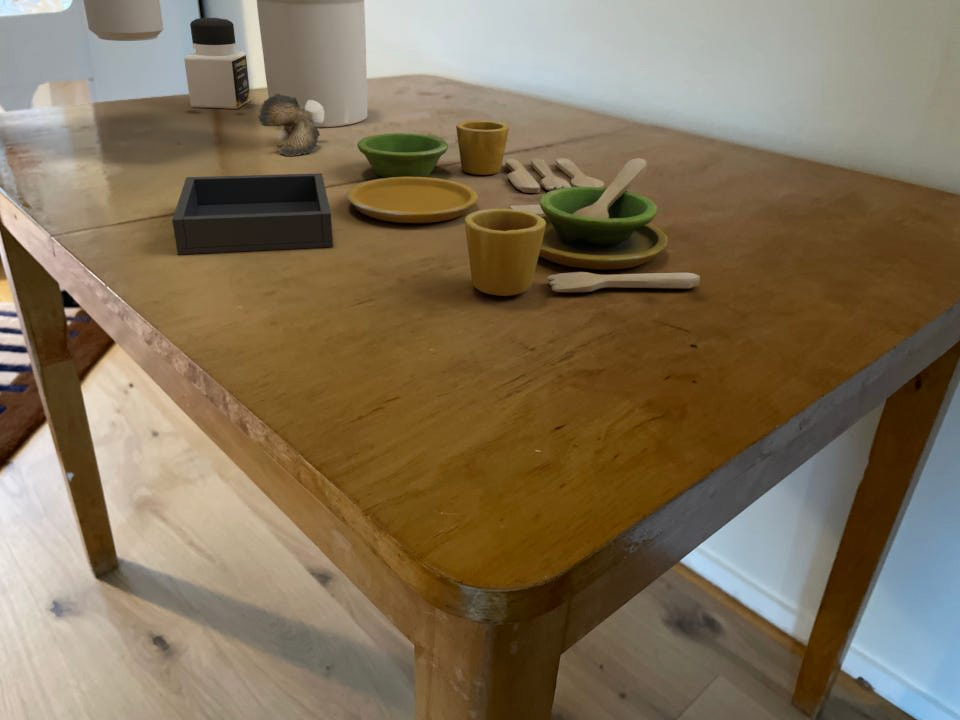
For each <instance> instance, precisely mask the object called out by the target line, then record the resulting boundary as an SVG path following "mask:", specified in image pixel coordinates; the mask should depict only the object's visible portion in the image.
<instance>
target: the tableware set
mask: <svg viewBox="0 0 960 720" xmlns="http://www.w3.org/2000/svg"><path fill="white" fill-rule="evenodd" d="M455 129H456V137H457V143H458V144H457V145H458V151H459V159H460V167H461V170H462V171H464V172H465V173H466V174H467V173H468V174H471V175H477V176H489V175H490V176H491V175H494V174H495V175H496V174H497V173H499V172H500V171H501V170H502V166H503V161H504V157H505V156H504V155H505V150H506V147H507V146H506V145H507V142H508V137H509V131H510V126H509V125H508V124H507V123H504V122H502V121H498V120H497V121H496V120H480V119H479V120H465V121H460V122H458V123H456V126H455ZM356 146H357V149H358V150H359V152H361V154H363V155H364V156H365V158H366V160H367V161H368V163H369V164H370V165H369V166H371V168H372V169H373V171H374V173H375V174H377V176H379V177H381V178H376V179H371V180H367V181H363V182H361V183H357V184H355V185H354V186H353V185H352V187H350V188H349V189H348V190H347V192H346V195H345V197H346V199H347V201H348V202H349V203H350V204H351V206H352V207H355V209H356V210H357V211H358V212H360V213H361V214H363V215H365V216H366V217H367V216H368V217H370V218H373V219H376V220H380V221H384V222H391V223H400V224H426V223H427V224H429V223H438V222H445V221H449V220H452V219H455V218H458V217H461V216H462V215H464V214H466V213H467V212H468V211H469V210H470V209H471V208H472V207H474V205H475V204H476V203H477V201H478V200H479V195H478V193H477V192H476V190H475V189H473V188H471V187H470V186H468V185H465V184H463V183H460V182H457V181H454V180H449V179H444V178H437V177H429V176H430V174H431V173H432V172H433V170H434V169H435V168H436V165H437V164H438V162H439V160H440V159H441V157H442V156H443V155H444V154H446V152H447V151H448V149H449V144H448V142H446V141H445V140H443V139H442V138H438V137H435V136H431V135H425V134H418V133H406V132H405V133H403V132H402V133H400V132H399V133H397V132H395V133H394V132H393V133H382V134H374V135H370V136H366V137H363V138H362V139H360V140H358V142H357V143H356ZM555 163H556V164H557V165H558V166H557V165H556V164H555V167H556V168H557V169H558V170H560V171H561V172H563V174H565V175H566V176H568V177H569V178H570V181H569V182H568V180H566V179H564V178H561V177H558V176H556V175H555V174H554V173H553V171H552V170H551V168H550V167H549V165H548V163H547V162H546V160H544V159H543V158H531V159H530V166H531V167H532V168H533V169H534V170H535V172H536V173H537V174H538V175H539V176H540V177H541V180H540V182H539V183H540V184H539V183H538V182H537V180H536V179H535V178H534V177H533V176H532V175H531V174H530V173H529V172H528V170H527V169H526V168H525V167H524V166H523V165H522V164H521V162H520V161H518V160H517V159H514V158H507V159H506V160H505V167H506V168H507V169H508V170H509V171H510V172H509V173H508V174H507V178H508V180H509V181H510V183H511V184H512V186H514V187H515V188H516V189H517V190H519V191H521V192H522V193H526V194H527V193H528V194H539V193H540V192H541V187H542V189H545V190H546V191H548V192H545V193H544V194H543V195H541V197H540V199H539V204H518V205H517V204H515V205H514V204H513V205H510V206H509V208H485V209H480V210H477V211H473V212H471V213H469V214H467V215H466V216H465V217H464V228H465V237H466V243H467V244H466V245H467V252H468V259H469V260H468V261H469V269H470V276H471V283H472V286H473V287H474V288H475V289H476V290H478V291H480V292H481V293H484V294H488V295H492V296H497V297H511V296H517V295H520V294H523V293H525V292H526V291H529V290H530V288H531V286H532V285H533V281H534V277H535V274H536V270H537V265H538V260H539V257H540V258H543V259H545V260H547V261H550V262H553V263H556V264H559V265H562V266H566V267H573V268H578V269H579V268H580V269H587V270H601V271H602V270H605V271H607V270H609V271H610V270H611V271H612V270H623V269H629V268H634V267H638V266H641V265H643V264H646V263H648V262H650V261H651V260H652V259H653V258H654V257H656V256H658V255H659V254H660V253H661V252H662V251H664V249H665V248H666V247H667V245H668V236H667V235H666V233H664V232H663V231H662V230H661V229H660V228H658V227H657V226H655V225H654V224H652V223H650V222H652V221H653V220H654V218H655V217H656V216H657V214H658V211H659V208H658V206H657V205H656V203H655V202H653V201H652V200H651V199H650V198H647V197H645V196H644V195H640V194H638V193H634V192H631V191H628V190H629V189H630V187H631V186H632V185H633V184H634V183H635V182H637V181H638V180H639V179H640V178H641V176H643V175H644V173H645V172H646V170H647V166H648V165H647V160H645V159H644V158H640V157H636V158H631V159H630V160H628V161H627V162H626V163H625V164H624V166H623V167H622V168H621V169H620V170H619V172H618V174H616V176H615V177H614V179H613V180H612V181H611V182H610V184H609V185H608V187H604V186H605V183H604V181H603V180H601V179H600V178H595V177H591V176H589V175H588V176H587V175H585V173H583V172H582V171H581V170H580V168H579V167H578V166H577V165H576V164H575V163H574V162H573V161H572V160H571V159H570V158H563V157H562V158H561V157H560V158H556V159H555ZM531 164H532V165H531ZM561 168H562V169H561ZM565 171H566V172H567V173H566V172H565ZM546 280H547V282H549V286H551V290H552V291H553V292H554V293H590V292H591V293H592V292H594V291H597V290H600V289H605V288H606V289H607V288H619V289H621V288H624V289H625V288H626V289H627V288H628V289H630V288H633V289H636V288H637V289H692V288H695V287H697V286H699V285H700V281H701V276H700V275H698V274H696V273H694V272H654V273H620V274H598V273H592V272H588V271H574V272H562V273H557V274H556V273H555V274H550V275H547V277H546Z"/></svg>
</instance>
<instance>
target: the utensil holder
mask: <svg viewBox="0 0 960 720" xmlns="http://www.w3.org/2000/svg"><path fill="white" fill-rule="evenodd" d="M256 7H257V16H258V17H257V18H258V24H259V34H260V41H261V48H262V49H261V50H262V57H263V66H264V75H265V81H266V88H267V96H268V98H270V96H272V95H274V96H275V94H280V95H284V96H289V97H295V98H296V100H297V101H298V104H299V106H300V109H301V111H302V110H303V109H304V107H305V104H306V102H307V100H314V101H316V102H318V103H320V104H321V105H322V106H323V109H324V112H325V114H324V121H323V123H320V124H318V123H313V125H314V126H315V128H334V127H335V128H337V127H342V126H349V125H354V124H357V123H361V122H363V121H364V120H366V119H367V117H368V74H367V73H368V70H367V42H366V41H367V39H366V37H367V36H366V12H365V11H366V9H365V0H256ZM311 123H312V122H311Z"/></svg>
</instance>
